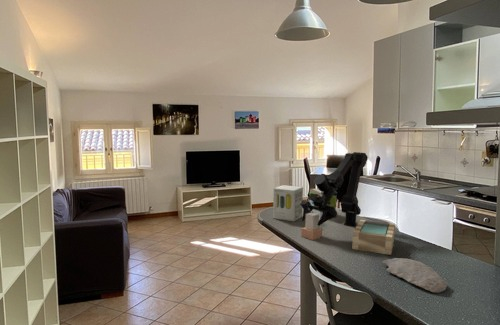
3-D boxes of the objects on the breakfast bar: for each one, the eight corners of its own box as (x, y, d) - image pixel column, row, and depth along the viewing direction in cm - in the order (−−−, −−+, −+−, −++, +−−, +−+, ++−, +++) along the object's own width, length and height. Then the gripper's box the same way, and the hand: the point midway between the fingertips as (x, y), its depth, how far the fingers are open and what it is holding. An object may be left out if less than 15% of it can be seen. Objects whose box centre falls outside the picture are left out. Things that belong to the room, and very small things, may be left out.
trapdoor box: (359, 234, 174) (360, 219, 173) (394, 239, 167) (395, 223, 166) (352, 248, 153) (353, 232, 152) (391, 254, 146) (392, 237, 145)
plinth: (310, 233, 174) (310, 225, 173) (322, 237, 169) (322, 228, 168) (301, 236, 169) (301, 228, 169) (312, 240, 164) (313, 231, 164)
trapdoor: (365, 225, 169) (366, 219, 169) (388, 228, 165) (388, 222, 165) (360, 235, 153) (360, 229, 153) (385, 239, 149) (385, 232, 149)
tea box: (308, 212, 218) (309, 188, 216) (323, 211, 221) (324, 187, 219) (320, 218, 203) (321, 192, 202) (335, 217, 206) (336, 192, 205)
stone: (373, 267, 135) (423, 297, 111) (373, 253, 134) (423, 281, 110) (408, 261, 139) (462, 290, 115) (408, 248, 139) (463, 274, 115)
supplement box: (272, 218, 202) (273, 188, 200) (281, 213, 213) (282, 184, 211) (294, 221, 195) (295, 190, 194) (302, 216, 207) (303, 186, 205)
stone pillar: (311, 226, 172) (311, 212, 171) (318, 228, 168) (318, 214, 168) (305, 228, 169) (305, 213, 168) (312, 230, 165) (313, 215, 165)
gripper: (303, 184, 176) (287, 209, 170) (334, 189, 162) (319, 217, 156) (312, 197, 182) (297, 222, 176) (343, 204, 168) (329, 231, 162)
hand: (310, 223), depth 167 cm, fingers open, 9 cm apart
